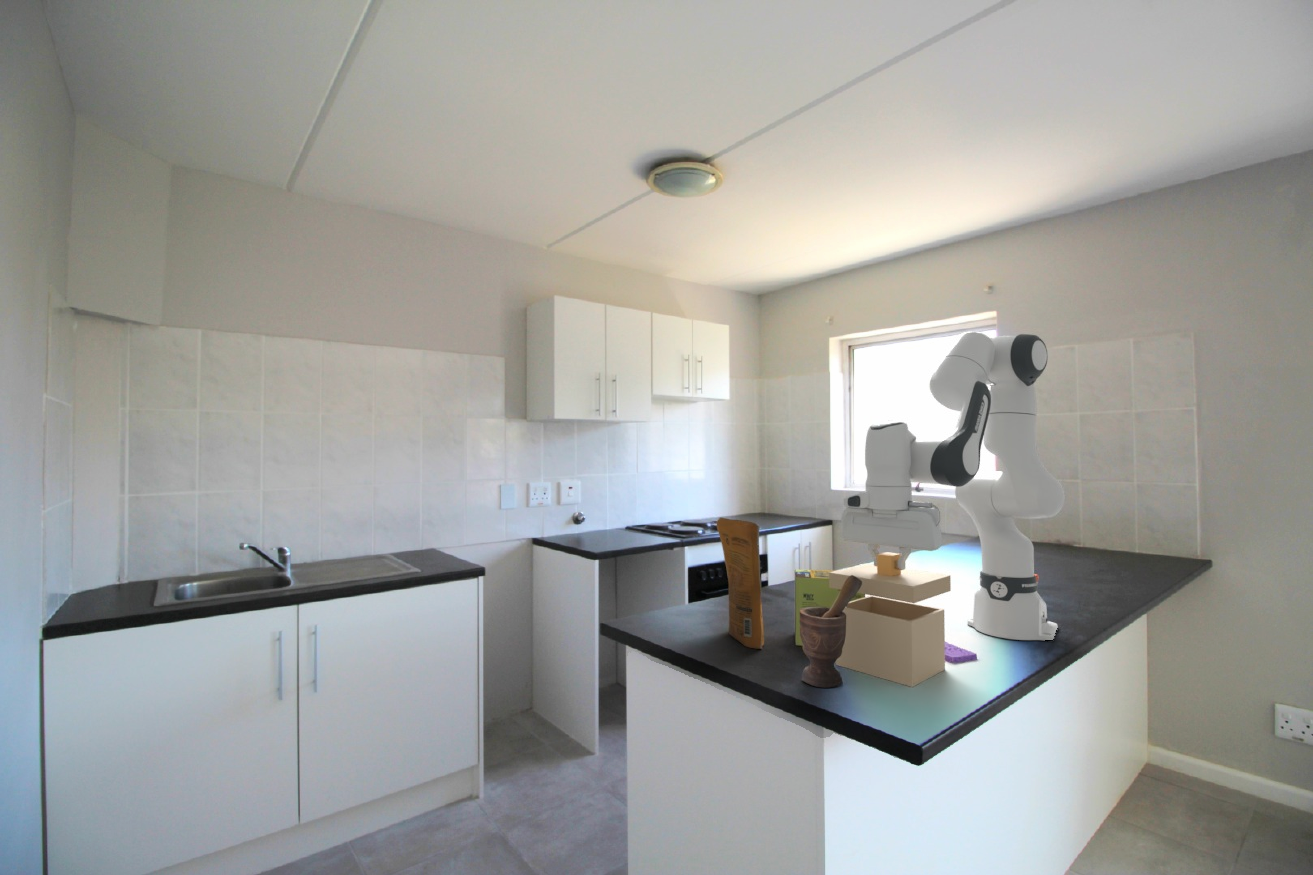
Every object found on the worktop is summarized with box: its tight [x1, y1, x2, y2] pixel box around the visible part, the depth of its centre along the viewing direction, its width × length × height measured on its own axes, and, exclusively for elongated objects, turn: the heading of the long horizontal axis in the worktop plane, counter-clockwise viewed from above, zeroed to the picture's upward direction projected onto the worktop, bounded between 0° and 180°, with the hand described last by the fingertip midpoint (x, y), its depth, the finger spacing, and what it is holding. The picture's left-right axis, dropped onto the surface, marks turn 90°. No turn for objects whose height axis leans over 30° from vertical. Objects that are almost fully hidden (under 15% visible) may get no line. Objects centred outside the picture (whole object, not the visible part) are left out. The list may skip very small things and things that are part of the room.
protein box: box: [794, 569, 866, 647], centre depth 142 cm, size 10×15×16 cm
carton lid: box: [829, 551, 952, 604], centre depth 125 cm, size 16×18×7 cm
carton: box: [835, 595, 946, 688], centre depth 124 cm, size 14×16×12 cm
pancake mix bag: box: [716, 517, 765, 650], centre depth 143 cm, size 7×19×28 cm, turn 16°
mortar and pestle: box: [800, 575, 862, 688], centre depth 117 cm, size 12×9×20 cm
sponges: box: [945, 641, 978, 664], centre depth 134 cm, size 7×13×2 cm, turn 20°
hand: (889, 567), depth 125 cm, fingers closed on carton lid, 3 cm apart
